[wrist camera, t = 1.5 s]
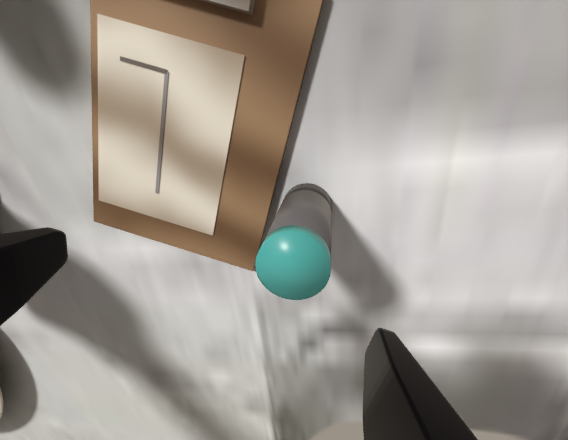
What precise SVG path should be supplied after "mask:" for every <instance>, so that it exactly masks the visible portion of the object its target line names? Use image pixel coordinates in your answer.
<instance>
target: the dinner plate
mask: <svg viewBox="0 0 568 440" xmlns="http://www.w3.org/2000/svg"><path fill="white" fill-rule="evenodd" d="M2 413H3V396H2V392H1V389H0V419H1V417H2Z"/></svg>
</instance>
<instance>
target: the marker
mask: <svg viewBox="0 0 568 440" xmlns="http://www.w3.org/2000/svg"><path fill="white" fill-rule="evenodd" d="M331 228H332V202H331V199H330V197H329V195H328V194H327V192H326V191H325V190H324V189H322V188H321V187H319V186H317V185H314V184H308V183H307V184H300V185H297V186H295V187H293V188H292V189H291V190H289V192H288V193H287V194H286V196H285V198H284V200H283V202H282V204H281V206H280V208H279V210H278V212H277V214H276V216H275V219H274V221H273V223H272V225H271V227H270V229H269V231H268V233H267V235H266V237H265V239H264V241H263V243H262V245H261V247H260V250H259V252H258V254H257V257H256V261H255V267H256V272H257V275H258V278H259V279H260V281H261V283H262V284H263V285H264V286H265V287H266V288H267V289H268V290H269V291H270V292H272V293H273V294H275V295H277V296H279V297H282V298H285V299H291V300H302V299H307V298H310V297H312V296H314V295H316V294H318V293H319V292H320V291H321V290H322V289H323V288H324V287H325V286H326V284H327V282H328V280H329V277H330V268H331Z"/></svg>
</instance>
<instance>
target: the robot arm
mask: <svg viewBox="0 0 568 440" xmlns="http://www.w3.org/2000/svg"><path fill="white" fill-rule="evenodd" d="M67 257H68V253H67V241H66V235H65V233H64V232H62V231H60V230H57V229H53V228H40V229H33V230H26V231H19V232H12V233H4V234H0V326H1V325H2V324H3V323H4V322H5V321H6V320H8V319H9V318H10V317H11V316H12V315H13V314H15V313H16V312H17V311H18V310H19V309H20V308H21V307H22V306H23V305H24V304H25V303H27V302H28V301H29V300H30V299H31V298H32V297H33V296H34V295H35V294H36V293H37V291H38V290H39V289H40V288H41V287H42V286H43V285H44V284H45V283H46V282H47V281H48V280H49V279H50V278H51V277H52V276H53V275H54V274H55V273H56V272H57V271H58V270H59V269H60V268H61V267H62V266H63V265H64V264H65V262H66V260H67ZM363 431H364V440H478V439H477V438H476V437H475V436H474V434H473V433H472V432H471V430H470V429H469V428H468V427H467V425H466V424H465V423H464V421H463V420H462V419H461V418H460V416H459V415H458V414H457V412H456V411H455V410H454V409H453V407H452V406H451V405H450V403H449V402H448V401H447V400H446V398H445V397H444V396H443V394H442V393H441V392H440V391H439V389H438V388H437V387H436V385H435V384H434V383H433V382H432V380H431V379H430V378H429V376H428V375H427V374H426V373H425V371H424V370H423V369H422V367H421V366H420V365H419V364H418V362H417V361H416V360H415V358H414V357H413V356H412V355H411V353H410V352H409V351H408V349H407V348H406V347H405V346H404V344H403V343H402V342H401V340H400V339H399V338H398V337H397V335H396V334H395V333H394V332H392V331H389V330H386V329H382V328H378V329H377V330H376V331H375V333H374V335H373V337H372V339H371V341H370V344H369V346H368V348H367V350H366V354H365V367H364V392H363Z"/></svg>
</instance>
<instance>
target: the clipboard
mask: <svg viewBox="0 0 568 440" xmlns="http://www.w3.org/2000/svg"><path fill="white" fill-rule="evenodd" d="M322 4H323V0H90V10H91V74H92V138H93V202H94V221H95V222H98V223H101V224H104V225H108V226H111V227H114V228H117V229H120V230H124V231H127V232H130V233H133V234H136V235H139V236H143V237H146V238H149V239H152V240H155V241H159V242H162V243H165V244H168V245H171V246H175V247H178V248H181V249H184V250H187V251H191V252H194V253H197V254H200V255H203V256H207V257H210V258H213V259H216V260H219V261H223V262H226V263H229V264H232V265H235V266H238V267H242V268H245V269H248V270H251V271H253V269H254V267H255V261H256V257H257V254H258V252H259V248H260V244H261V240H262V237H263V233H264V229H265V225H266V221H267V217H268V213H269V209H270V206H271V202H272V198H273V194H274V190H275V186H276V182H277V179H278V175H279V171H280V167H281V163H282V159H283V155H284V151H285V148H286V144H287V140H288V136H289V132H290V128H291V124H292V120H293V117H294V113H295V109H296V105H297V101H298V97H299V93H300V89H301V86H302V82H303V78H304V74H305V70H306V66H307V62H308V58H309V55H310V51H311V47H312V43H313V39H314V35H315V31H316V27H317V24H318V20H319V16H320V12H321V8H322Z"/></svg>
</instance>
